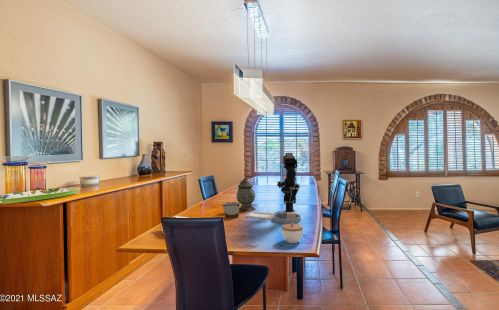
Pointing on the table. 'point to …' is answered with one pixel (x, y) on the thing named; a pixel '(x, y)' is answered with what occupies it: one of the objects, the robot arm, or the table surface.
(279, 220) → the bowl
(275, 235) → the table surface
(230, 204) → the food container
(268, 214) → the parts tray
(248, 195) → the grey stone urn
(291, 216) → the matte tan cube
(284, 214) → the gray chunky prism
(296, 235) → the lidded jar
